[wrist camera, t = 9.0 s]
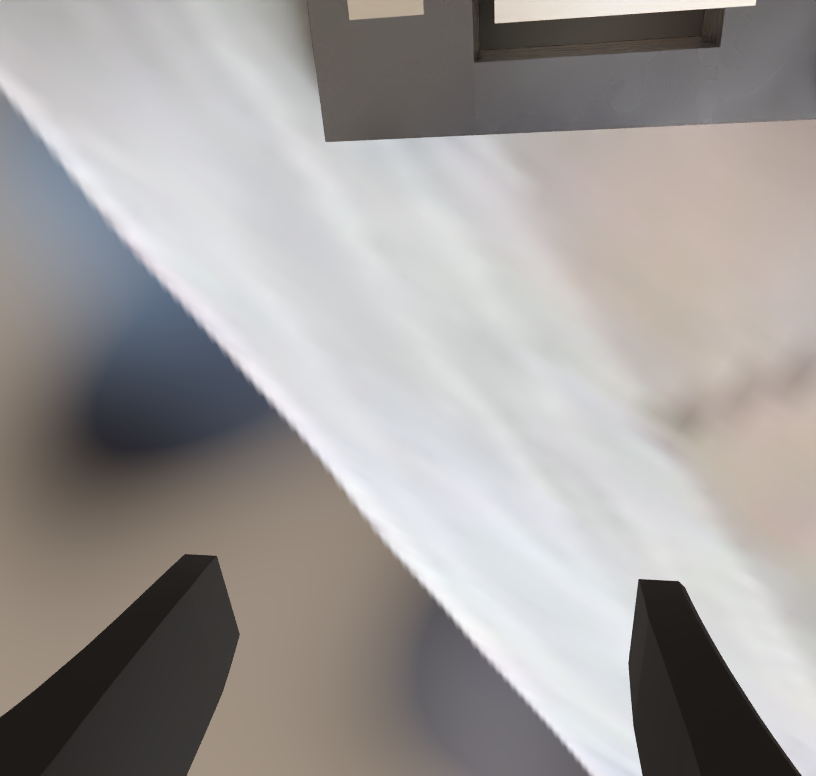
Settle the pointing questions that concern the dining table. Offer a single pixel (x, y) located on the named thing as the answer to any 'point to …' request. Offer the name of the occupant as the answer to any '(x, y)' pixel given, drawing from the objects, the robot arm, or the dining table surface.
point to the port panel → (552, 73)
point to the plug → (598, 8)
